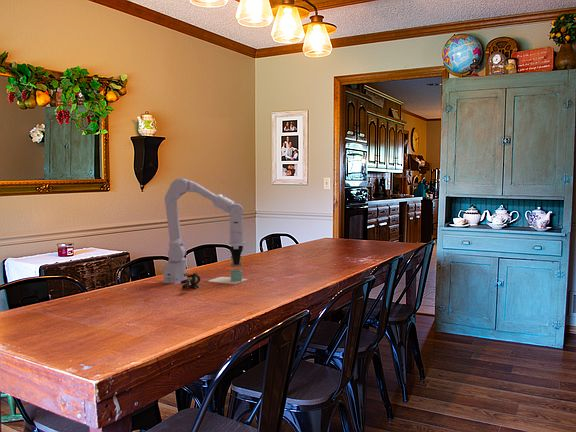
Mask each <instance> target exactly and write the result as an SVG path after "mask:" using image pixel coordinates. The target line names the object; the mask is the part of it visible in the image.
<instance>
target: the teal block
mask: <svg viewBox="0 0 576 432" xmlns="http://www.w3.org/2000/svg"><path fill="white" fill-rule="evenodd" d="M230 278H231V281H242V279H243V270H242V269H230ZM242 282H243V281H242Z"/></svg>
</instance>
